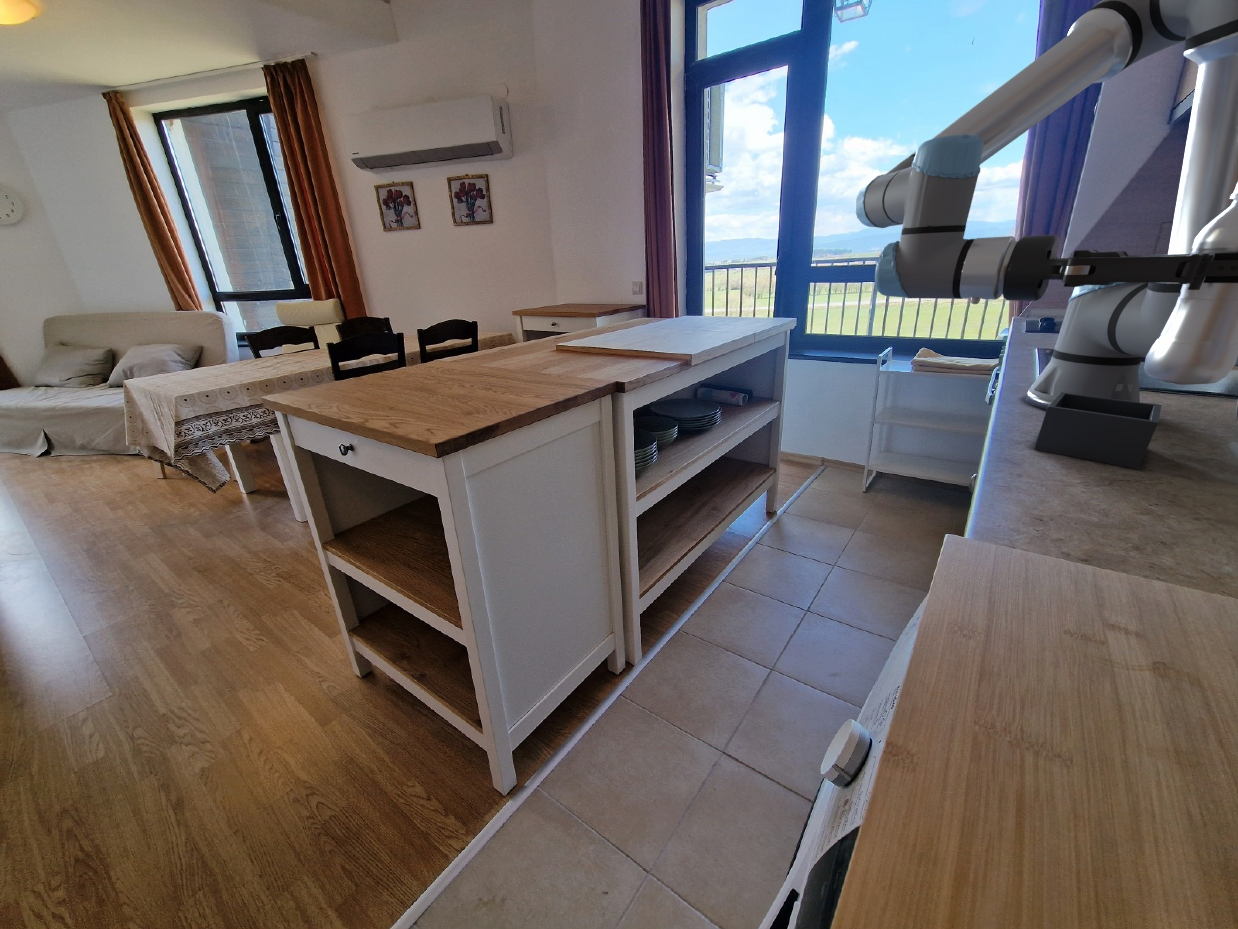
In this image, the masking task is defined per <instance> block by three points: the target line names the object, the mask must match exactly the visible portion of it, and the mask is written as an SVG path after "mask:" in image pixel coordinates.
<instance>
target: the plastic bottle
mask: <svg viewBox="0 0 1238 929" xmlns="http://www.w3.org/2000/svg"><path fill="white" fill-rule="evenodd" d="M1230 199H1233V203H1232V204H1231V206H1230V207H1229V208H1228V209H1226V210H1225V211H1224V212H1222V213H1221V214H1220V215H1218V216H1217V217H1216V218H1215V219H1213V220H1212V221H1211V222H1210V223H1209V224H1208V225H1206V226H1205V227H1204V228H1203V229H1202V230H1201V231H1200V233H1199V234H1198V235H1197V237H1196V238H1195V239H1194V243H1193V246H1192V248H1193V249H1192V251H1191V254H1199V255H1201V254H1210V255H1215V253H1238V183H1237V185H1236V188H1235V190H1234V193H1233V194H1231V196H1230ZM1191 254H1190V255H1191ZM1213 257H1214V256H1213ZM1212 260H1213V258H1212ZM1205 277H1206V276H1205ZM1204 279H1205V278H1204ZM1203 282H1204V280H1203ZM1203 282H1202V285H1201V287H1200V290H1188V288H1189V286H1190V283H1187V284H1183V285H1182V288H1181V291H1180V292H1181V294H1180V297H1178V300H1177V303H1176V306H1175V308H1174V310H1173V312H1172V314H1171V316H1170V317H1169V319H1168V321H1167V323H1166V325H1165V327H1164V329H1163V331H1162V333H1161V336H1160V337H1159V338H1157V340H1156V341H1155V343H1154V344H1153V345H1152V347H1151V349H1150V351H1149V352H1148V354H1147V356H1146V358H1144V364H1143V370H1144V372H1145V374H1146V376H1147V377H1149V378H1151V379H1154V380H1158V381H1162V382H1165V383H1169V384H1173V385H1179V386H1187V385H1191V386H1192V385H1209V384H1216V383H1218V382H1219V381H1221V380H1223V379H1225V378H1227V376H1228V375H1229V373H1230V372H1231V371H1232V370H1233V368H1234V367H1235V366H1234V365H1235V364H1236V360H1237V357H1238V283H1203Z"/></svg>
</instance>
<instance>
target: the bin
mask: <svg viewBox="0 0 1238 929" xmlns="http://www.w3.org/2000/svg"><path fill="white" fill-rule="evenodd" d="M1161 410H1162V404H1157V403H1150V402H1142V401H1140V402H1135V401H1127V400H1119V399H1111V398H1103V397H1096V396H1088V395H1080V394H1072V393H1064V392H1060V393H1059V395H1058V396H1057V397H1056V398H1055V399H1054V400H1053V401H1052V403H1051V404H1050V405H1049V406H1048V408H1047V409H1046V411H1045V414H1044V417H1043V421H1042V423H1041V425H1040V429H1039V432H1038V435H1037V438H1036V442H1035V444H1034V447H1033V450H1036V451H1037V450H1038V451H1041V452H1042V451H1043V452H1048V453H1053V454H1056V455H1057V454H1058V455H1062V456H1067V457H1073V458H1078V459H1083V460H1089V461H1093V462H1097V463H1103V464H1108V465H1113V466H1119V467H1124V468H1129V469H1135V470H1139V468H1140V466H1141V465H1142V462H1143V460H1144V457H1145V454H1146V453H1147V450H1148V448H1149V445H1150V443H1151V441H1152V438H1153V436H1154V434H1155V431H1156V429H1157V427H1158V424H1159V421H1160V416H1161V415H1160V414H1161Z"/></svg>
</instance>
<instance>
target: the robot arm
mask: <svg viewBox="0 0 1238 929" xmlns="http://www.w3.org/2000/svg"><path fill="white" fill-rule="evenodd" d="M1180 43H1184V47H1183V48H1184V49H1183V57H1185V58H1186V59H1189V60H1190V61H1192V62H1194V63H1195V64H1196V65H1197V66H1198V69H1197V75H1196V76H1197V77H1196V84H1195V87H1194V88H1195V89H1194V95H1193V96H1194V97H1193V99H1192V100H1193V101H1192V107H1191V114H1190V119H1189V124H1188V131H1187V136H1186V137H1187V138H1186V142H1185V149H1184V155H1183V160H1182V161H1183V162H1182V168H1181V173H1180V179H1179V185H1178V191H1177V197H1176V204H1175V209H1174V215H1173V222H1172V227H1171V234H1170V240H1169V246H1168V251H1167V253H1166V254H1165V253H1164V254H1128V252H1127V251H1124V250H1123V251H1122V250H1119V251H1118V250H1117V251H1116V250H1115V251H1098V250H1096V249H1078V250H1077V249H1076V250H1074V251H1073V253H1072V257H1058V253H1059V250H1060V238H1059V236H1058V235H1056V234H1042V235H1041V234H1040V235H1024V236H1023V237H1020V238H1019V239H1018V240H1017V239H1016V238H1015V236H1011V235H1007V236H989V237H987V236H986V237H976V238H965V233H966V229H967V222H968V219H969V216H970V215H969V214H970V210H971V207H972V203H973V198H974V194H975V191H976V186H977V183H978V179H979V175H980V173H981V170H982V169H981V166H980V165H982V164H983V163H985V162H986V161H988V160H989V159H990V158H992V157H994V155H996V154H997V153H999V152H1000V151H1001V150H1003V149H1004V148H1005V147H1007V146H1008V145H1009V144H1011V143H1012V142H1014V141H1015V140H1017V139H1018V138H1019V137H1020V136H1022V135H1024V134H1025V133H1026V132H1028V131H1029V130H1030V129H1032V128H1033V127H1034V126H1036V125H1037V124H1039V123H1040V122H1041V121H1043V120H1044V119H1045V118H1047V117H1049V115H1051V114H1052V113H1054V112H1055V111H1057V110H1058V109H1059V108H1061V107H1062V106H1063V105H1065V104H1066V103H1068V102H1069V101H1071V100H1072V99H1073V98H1074V97H1076V96H1077V95H1078V94H1080V93H1081V92H1083V91H1084V90H1085V89H1086V88H1088V87H1090V86H1091V85H1092V84H1100V83H1104V82H1107V81H1109V80H1111V79H1113V78H1115V76H1117V75H1118V74H1119V73H1121V72H1122V71H1124V70H1126V69H1127V68H1129V67H1130V66H1132V65H1133V64H1135V63H1138V62H1139V61H1141V60H1143V59H1145V58H1147V57H1149V56H1152V55H1154V54H1156V53H1158V52H1160V51H1162V50H1165V49H1167V48H1170V47H1174V46H1175V45H1178V44H1180ZM1237 183H1238V0H1100V1H1098V3H1096V4H1095V5H1094V6H1092V7H1091V8H1090V9H1089V10H1088V11H1086V12H1085V13H1083V14H1082V15H1081V16H1080V17H1079V18H1077V19H1076V20H1075V22H1074V23H1073V24H1072V25H1071V27H1070V29H1069V31H1068V32H1067V36H1065V37H1064V38H1062V39H1061V40H1060V41H1058V42H1057V43H1056V44H1055V45H1054V46H1052V47H1051V48H1050V49H1048V50H1047V51H1045V52H1044V53H1043V54H1041V55H1040V56H1039V57H1038V58H1036V59H1035V60H1033V62H1031V63H1030V64H1028V65H1027V66H1026V67H1024V68H1023V69H1022V70H1021V71H1019V72H1018V73H1016V74H1015V75H1014V76H1012V77H1011V78H1010V79H1008V80H1007V81H1006V82H1005V83H1003V84H1002V85H1001V86H999V87H998V88H997V89H995V90H994V91H993V92H991V93H990V94H989V95H987V96H986V97H985V98H984V99H982V100H981V101H980V102H978V103H977V104H975V106H973V107H972V108H971V109H969V110H968V111H966V112H965V113H964V114H962V115H961V116H960V117H959V118H957V119H956V120H954V121H953V122H952V123H950V125H948V126H947V127H945V128H944V129H943V130H942V131H941V132H939V133H937V134H936V135H935V136H934V137H932V138H931V139H927V140H925V141H923V142H922V143H920V144H919V146H918V147H917V149H916V150H915V151H914V152H912V153H911V154H910V155H909V156H908V157H907V158H905V159H903V160H902V161H901V162H899V163H898V164H897V165H895V166H894V167H892V168H891V169H890V170H889V171H887V172H885V173H883V174H881V175H877V176H875V177H874V178H872V179H870V180H868V182H866V183H865V184H864V185H863V186H862V187H861V188H860V190H859V191H858V194H857V195H856V198H855V202H854V211H855V215H856V218H857V219H858V221H859V222H860V223H861V224H862V225H863V226H865V227H868V228H877V229H886V228H889V227H894V226H901V225H902V228H901V232H900V237H899V240H896V241H893V242H889V243H887V244H886V245H885V246H884V247H883V248H882V249H881V251H880V253H879V256H878V260H877V262H876V265H875V270H874V284H875V288H876V290H877V292H878V293H879V294H880V295H882V296H883V297H893V298H905V299H930V300H931V299H933V300H935V299H936V300H937V299H942V300H943V299H944V300H947V299H948V300H949V299H950V300H963V299H964V300H968V299H970V298H971V299H970V304H973V305H978V304H979V303H980V301H981V300H991V301H993V300H994V301H996V300H998V299H999V298H1001V297H1003V299H1005V300H1006V301H1017V302H1018V301H1019V302H1036V301H1039V300H1040V299H1042V298H1043V296H1044V295H1045V293H1046V291H1047V289H1048V287H1049V283H1050V280H1051V281H1060V282H1061V283H1064V284H1063V287H1064V288H1074V289H1073V290H1072V293H1071V296H1070V297H1069V299H1068V301H1067V305H1066V309H1065V311H1064V316H1063V318H1062V322H1061V325H1060V329H1059V333H1058V336H1057V338H1056V342H1055V346H1054V349H1053V352H1052V356H1051V358H1050V361H1049V362H1048V364H1047V365H1046V366H1045V367H1044V369H1043V370H1042V372H1041V373H1040V374H1039V376H1038V377H1037V379H1036V380H1034V382H1033V383H1032V385H1031V386H1030V387H1029V389H1028V390H1027V394H1026V397H1025V401H1026V402H1027V403H1028V404H1030V405H1032V406H1034V407H1038V408H1039V409H1040V408H1041V409H1044V410H1047V408H1048V406H1049V405H1050V404H1051V403H1052V401H1053V400H1054V399H1055V398H1056V397H1057V396H1058V395H1059V393H1060V392H1064V393H1072V394H1080V395H1088V396H1096V397H1103V398H1111V399H1119V400H1127V401H1135V402H1141V398H1140V397H1141V396H1140V378H1139V376H1140V375H1139V368H1140V365H1141V362H1142V360H1143V359H1146V356H1147V354H1148V352H1149V351H1150V349H1151V347H1152V345H1153V344H1154V343H1155V341H1156V340H1157V338H1159V337H1160V336H1161V333H1162V331H1163V329H1164V327H1165V325H1166V323H1167V321H1168V319H1169V317H1170V316H1171V314H1172V312H1173V310H1174V308H1175V306H1176V303H1177V300H1178V297H1180V294H1181V292H1180V291H1181V288H1182V285H1183V284H1187V283H1190V286H1189V288H1188V290H1200V287H1201V285H1202V282H1203V280H1204V282H1203V283H1238V253H1215V255H1210V254H1201V255H1199V254H1191V251H1192V249H1193V248H1192V246H1193V243H1194V239H1195V238H1196V237H1197V235H1198V234H1199V233H1200V231H1201V230H1202V229H1203V228H1204V227H1205V226H1206V225H1208V224H1209V223H1210V222H1211V221H1212V220H1213V219H1215V218H1216V217H1217V216H1218V215H1220V214H1221V213H1222V212H1224V211H1225V210H1226V209H1228V208H1229V207H1230V206H1231V204H1232V203H1233V199H1230V196H1231V194H1233V193H1234V190H1235V188H1236V185H1237ZM1190 254H1191V255H1190ZM1213 256H1214V257H1213ZM1212 258H1213V260H1212ZM1205 276H1206V277H1205ZM1204 278H1205V279H1204ZM1235 366H1238V357H1237V360H1236V364H1235V365H1234V367H1235Z"/></svg>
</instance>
